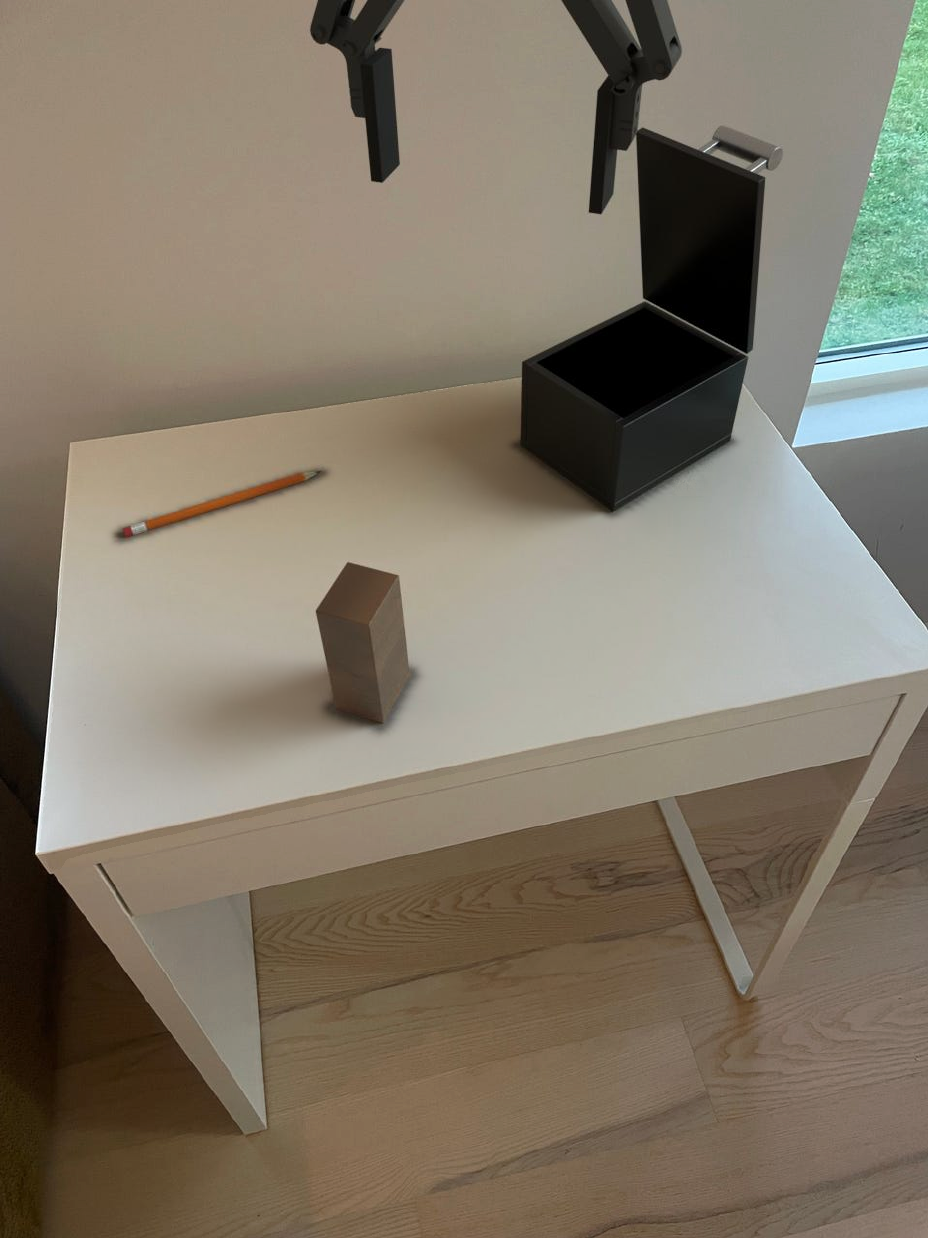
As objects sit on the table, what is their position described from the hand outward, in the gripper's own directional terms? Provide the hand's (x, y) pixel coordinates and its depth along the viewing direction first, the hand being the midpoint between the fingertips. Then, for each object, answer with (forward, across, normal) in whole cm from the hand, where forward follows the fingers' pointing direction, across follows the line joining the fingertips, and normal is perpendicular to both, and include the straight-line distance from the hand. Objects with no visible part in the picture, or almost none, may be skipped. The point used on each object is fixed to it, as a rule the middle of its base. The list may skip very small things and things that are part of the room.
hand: (490, 188), depth 58 cm
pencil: (+33, +26, -1) cm, 43 cm away
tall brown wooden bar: (+33, +4, +15) cm, 36 cm away
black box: (+33, -6, -21) cm, 40 cm away
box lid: (+15, -9, -26) cm, 32 cm away
